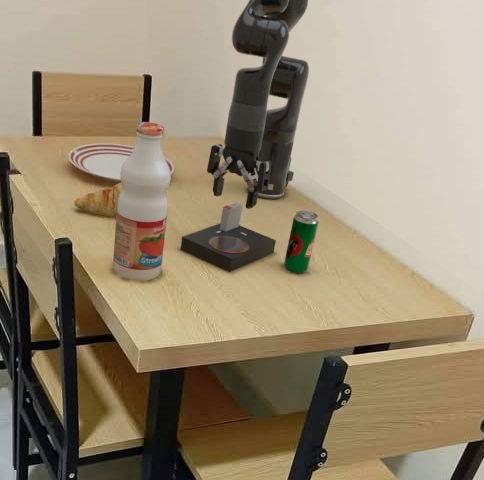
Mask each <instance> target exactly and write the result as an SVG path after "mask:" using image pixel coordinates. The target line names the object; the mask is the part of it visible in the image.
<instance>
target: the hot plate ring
mask: <svg viewBox="0 0 484 480" xmlns="http://www.w3.org/2000/svg"><path fill="white" fill-rule="evenodd" d="M209 245H210V246H211V247H212V248H214V249H216V250H218V251H221V252H225V253H232V254H238V253H244V252H246V251H248V249H249V245H248V244H247V243H246V242H244V241H243V240H240V239H238V238H234V237H229V236H217V237H213V238H211V239H210V240H209Z"/></svg>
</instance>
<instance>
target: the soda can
mask: <svg viewBox="0 0 484 480" xmlns="http://www.w3.org/2000/svg"><path fill="white" fill-rule="evenodd" d="M319 222H320V221H319V216H318V214H317V213H315V212H313V211H309V210H298V211H296V214H295V215H294V216H293V218H292V223H291V227H290V232H289V236H288V243H287V247H286V252H285V257H284V262H283V266H284V268H285V269H286V271H288V272H291V273H293V274H303V273H306V271H309V270H308V269H309V267H310V262H311V258H312V254H313V253H312V252H313V249H314V244H315V240H316V235H317V231H318V228H319Z"/></svg>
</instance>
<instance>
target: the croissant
mask: <svg viewBox="0 0 484 480" xmlns="http://www.w3.org/2000/svg"><path fill="white" fill-rule="evenodd" d="M121 190H122V183H115V184H114V185H113V186H112V187H111V186H109V187H103V188H101V189H100V190H99V191H96V192H91V193H87V194H85V195H84V196H83V197H81V198H75V200H73V201H74V202H73V203H74V206H75V207H76V208H77V209H79V210H81V211H84V212H88V213H92V214H97V215H102V216H107V217H112V218H116V216H117V204H118V197H119V194H120V192H121Z"/></svg>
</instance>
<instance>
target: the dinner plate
mask: <svg viewBox="0 0 484 480" xmlns="http://www.w3.org/2000/svg"><path fill="white" fill-rule="evenodd" d="M134 147H135V146H132V145H128V144H127V145H126V144H119V143H109V142H108V143H107V142H106V143H105V142H104V143H102V142H101V143H100V142H99V143H88V144H84V145H80V146H77V147H75V148H73V149H72V150H70V151H69V152H68V154H67V158H68V160H69V161H70V164H72V165H73V166H74V167H76V168H77V169H79V170H80V171H82V172H84V173H86V174H88V175H90V176H92V177H95V178H97V179H99V180H103V181H106V182H111V183H115V184H118V183H121V176H120V174H121V168H122V166H123V164H124V162H125V161H126V160H127V159H128V158H129V157H130V156H131V154H132V152H133V150H134ZM164 159H165V161H166V163H167V165H168V166H169V168H170V172H171V175H173V174H174V172H175V165H174V163H173V162H172V161H171V160H170V159H169V158H167V157H165V156H164Z"/></svg>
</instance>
